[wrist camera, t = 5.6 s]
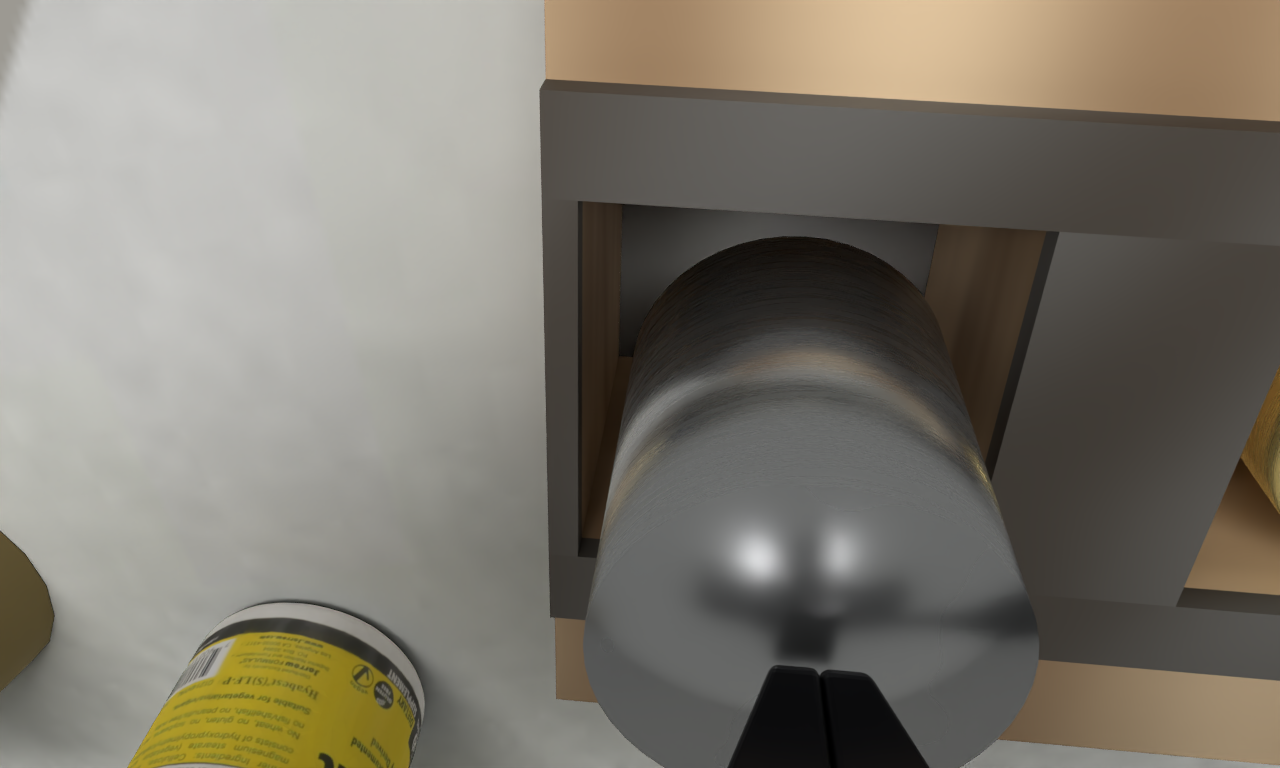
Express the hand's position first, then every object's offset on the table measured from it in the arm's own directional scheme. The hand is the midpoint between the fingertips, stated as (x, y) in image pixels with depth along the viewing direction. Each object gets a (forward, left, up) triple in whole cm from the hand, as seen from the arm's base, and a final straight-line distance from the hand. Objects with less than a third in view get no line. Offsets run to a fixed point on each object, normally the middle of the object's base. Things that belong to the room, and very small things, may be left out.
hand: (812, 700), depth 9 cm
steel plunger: (0, 0, -6) cm, 6 cm away
